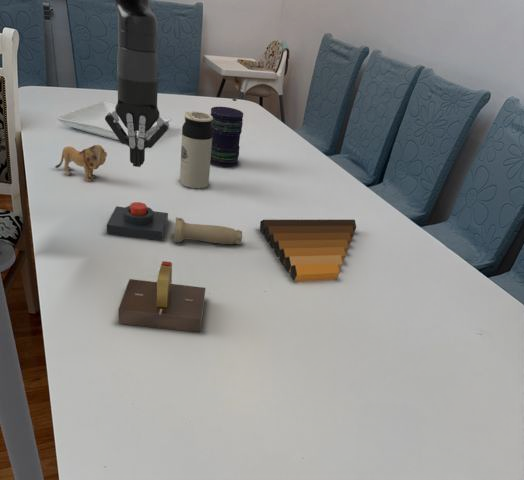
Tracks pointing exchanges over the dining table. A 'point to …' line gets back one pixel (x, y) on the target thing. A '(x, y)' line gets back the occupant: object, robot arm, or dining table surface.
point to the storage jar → (225, 136)
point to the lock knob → (164, 284)
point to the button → (138, 208)
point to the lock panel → (173, 317)
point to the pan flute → (310, 246)
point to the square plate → (97, 120)
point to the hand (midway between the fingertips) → (137, 165)
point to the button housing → (137, 224)
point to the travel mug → (196, 149)
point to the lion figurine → (84, 159)
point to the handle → (206, 233)
